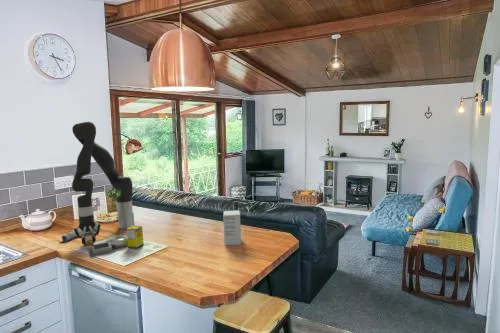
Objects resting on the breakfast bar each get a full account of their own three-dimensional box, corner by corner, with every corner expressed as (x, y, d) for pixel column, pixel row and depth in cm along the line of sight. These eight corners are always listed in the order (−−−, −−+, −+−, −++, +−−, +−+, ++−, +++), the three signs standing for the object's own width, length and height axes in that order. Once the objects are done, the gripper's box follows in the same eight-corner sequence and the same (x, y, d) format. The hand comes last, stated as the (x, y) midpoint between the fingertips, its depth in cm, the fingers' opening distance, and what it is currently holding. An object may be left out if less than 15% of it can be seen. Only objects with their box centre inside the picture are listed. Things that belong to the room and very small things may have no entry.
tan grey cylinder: (93, 242, 192) (91, 231, 191) (93, 245, 188) (92, 233, 187) (84, 244, 189) (83, 232, 188) (85, 246, 186) (83, 234, 185)
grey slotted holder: (125, 242, 191) (124, 234, 190) (129, 248, 180) (128, 241, 180) (88, 249, 181) (87, 241, 181) (90, 257, 171) (89, 248, 170)
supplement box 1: (143, 244, 186) (142, 225, 184) (137, 248, 180) (135, 229, 179) (135, 243, 188) (133, 225, 186) (127, 247, 182) (126, 228, 181)
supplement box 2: (241, 244, 181) (240, 214, 179) (224, 245, 181) (223, 215, 178) (240, 238, 191) (239, 209, 188) (224, 239, 190) (223, 210, 188)
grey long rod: (60, 234, 196) (94, 217, 217) (62, 245, 197) (96, 226, 219) (66, 236, 193) (100, 218, 215) (68, 246, 195) (102, 227, 217)
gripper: (99, 210, 193) (101, 238, 195) (71, 214, 186) (74, 244, 188) (100, 213, 186) (103, 242, 189) (71, 217, 179) (75, 248, 182)
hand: (88, 243), depth 188 cm, fingers closed on tan grey cylinder, 4 cm apart
